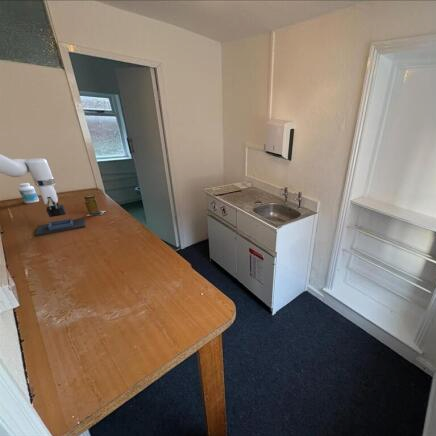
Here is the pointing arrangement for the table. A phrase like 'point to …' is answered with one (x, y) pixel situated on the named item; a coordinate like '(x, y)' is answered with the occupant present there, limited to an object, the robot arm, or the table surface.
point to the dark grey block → (61, 209)
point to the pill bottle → (28, 193)
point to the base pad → (60, 226)
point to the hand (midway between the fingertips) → (57, 213)
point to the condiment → (92, 206)
